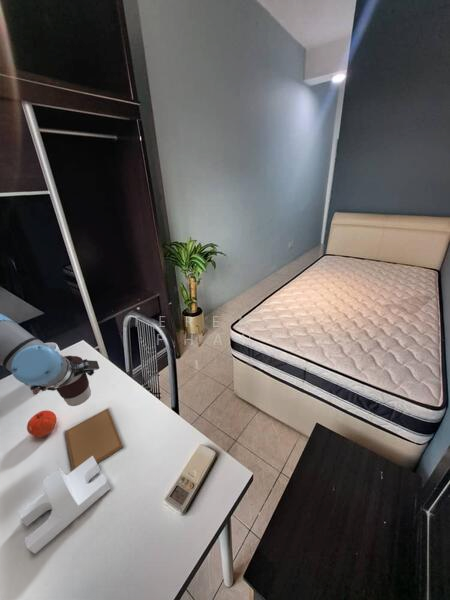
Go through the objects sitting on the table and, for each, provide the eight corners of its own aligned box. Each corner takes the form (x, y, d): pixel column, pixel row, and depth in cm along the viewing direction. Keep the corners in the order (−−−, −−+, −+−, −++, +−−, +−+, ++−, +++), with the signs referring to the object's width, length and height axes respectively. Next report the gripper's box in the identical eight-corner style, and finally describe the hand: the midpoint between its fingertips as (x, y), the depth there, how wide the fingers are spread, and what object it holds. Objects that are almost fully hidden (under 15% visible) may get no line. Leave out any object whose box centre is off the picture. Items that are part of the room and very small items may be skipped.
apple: (45, 444, 80) (35, 428, 76) (27, 438, 82) (16, 423, 78) (65, 422, 87) (57, 407, 83) (47, 417, 89) (38, 402, 85)
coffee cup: (58, 398, 81) (39, 363, 74) (89, 381, 87) (75, 347, 80) (67, 416, 74) (47, 380, 67) (100, 396, 80) (85, 361, 73)
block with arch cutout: (96, 462, 74) (84, 441, 68) (110, 488, 68) (99, 467, 62) (24, 517, 63) (3, 497, 57) (34, 554, 57) (11, 536, 51)
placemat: (65, 431, 83) (64, 431, 83) (108, 409, 91) (107, 408, 90) (74, 478, 70) (73, 477, 70) (123, 447, 78) (122, 446, 77)
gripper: (1, 409, 55) (34, 406, 74) (107, 366, 65) (112, 374, 84) (-7, 377, 56) (27, 383, 76) (98, 340, 66) (105, 354, 86)
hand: (72, 378), depth 80 cm, fingers closed on coffee cup, 10 cm apart
